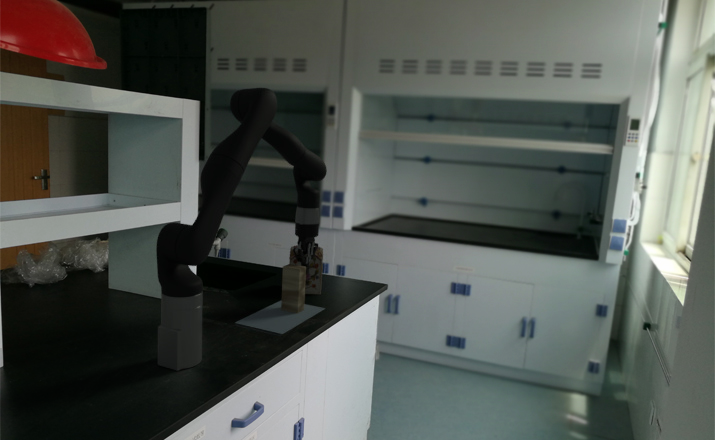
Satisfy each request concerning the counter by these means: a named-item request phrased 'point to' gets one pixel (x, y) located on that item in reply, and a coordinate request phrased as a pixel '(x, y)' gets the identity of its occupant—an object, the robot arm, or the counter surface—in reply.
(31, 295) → the counter surface
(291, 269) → the maple block
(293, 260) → the decorative jar
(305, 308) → the mat
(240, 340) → the counter surface
